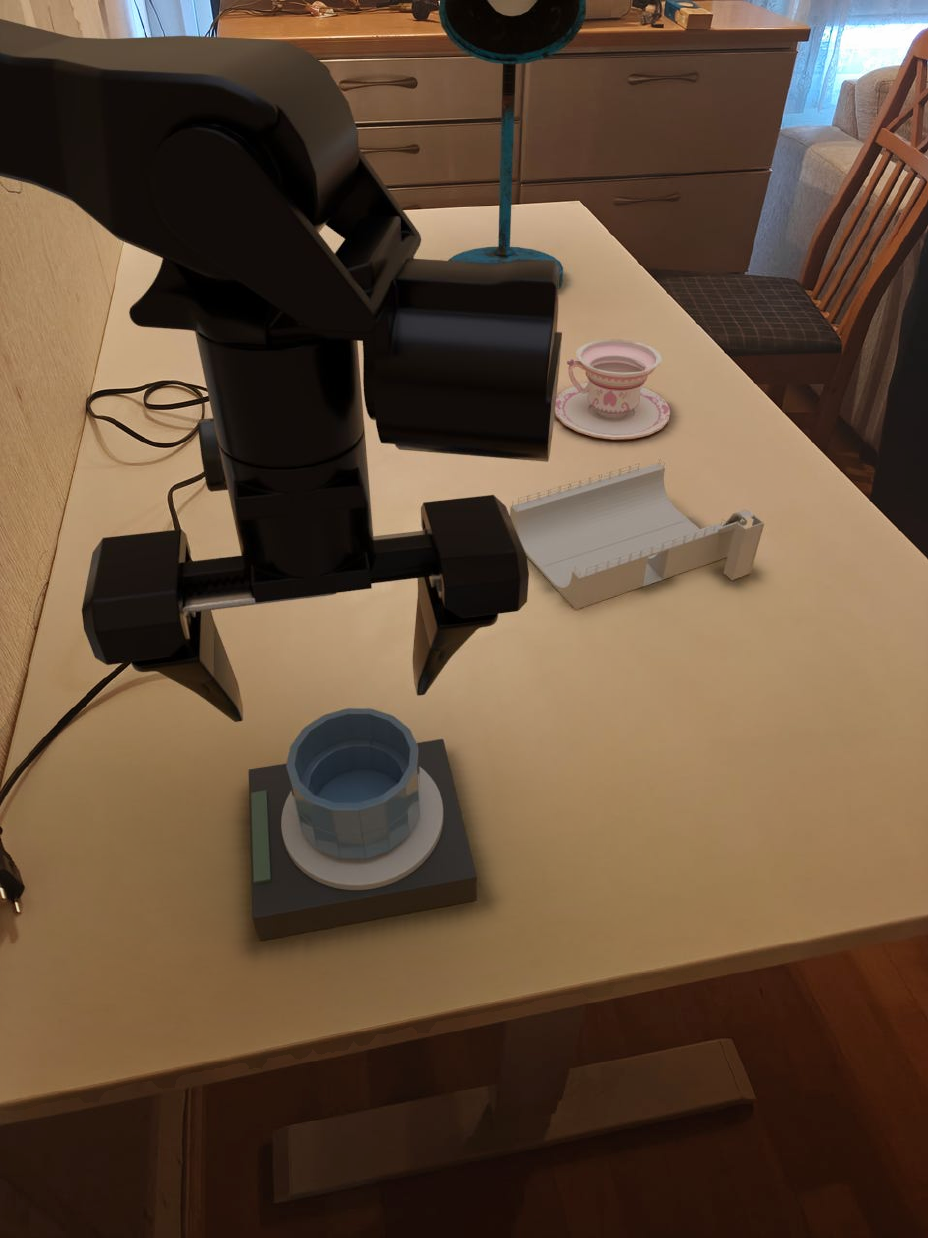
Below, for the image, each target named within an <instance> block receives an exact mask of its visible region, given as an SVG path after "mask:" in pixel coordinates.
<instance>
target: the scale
mask: <svg viewBox="0 0 928 1238" xmlns="http://www.w3.org/2000/svg"><path fill="white" fill-rule="evenodd" d="M416 743H417V746H418V751H419V770H420V788H421V805H420V816H419V818H418V820H417V822H416V824H415V826H414V827H413V829H412V831H411V833H410V834H409V835H408V837H406V838H405V839H404V840H403V841H401V842H400V843H399V844H398V845H396V846H395V847H394V848H393V849H391V850H389V851H388V852H385V853H382V854H379V855H376V856H373V857H370V858H367V859H366V858H364V859H358V858H337V857H335V856H332V855H330V854H327V853H325V852H322V851H320V850H318V849H317V848H316V847H315V846H314V845H313V844H312V843H311V842H310V841H309V840H308V839H307V838H306V837H305V836H304V835H303V833H302V831H301V827H300V824H299V821H298V818H297V814H296V809H295V805H294V800H293V795H292V791H291V786H290V782H289V777H288V772H287V768H286V764H287V763H281V764H275V765H269V766H262V767H255V768H250V769H248V797H249V799H248V801H249V804H248V805H249V837H250V838H249V839H250V841H249V842H250V873H251V875H250V876H251V880H250V881H251V909H252V910H251V911H252V912H251V913H252V921H253V924H254V927H255V930H256V934H257V937H258V940H259V941H266V940H272V939H278V938H283V937H288V936H293V935H298V934H303V933H310V932H315V931H320V930H326V929H330V928H335V927H341V926H346V925H351V924H357V923H364V922H367V921H373V920H378V919H379V920H380V919H384V918H390V917H394V916H399V915H405V914H411V913H416V912H421V911H426V910H431V909H436V908H442V907H448V906H453V905H458V904H464V903H470V902H473V901H474V902H475V901H477V897H478V896H477V895H478V894H477V893H478V875H477V871H476V868H475V867H476V866H475V863H474V859H473V854H472V850H471V847H470V842H469V838H468V835H467V831H466V826H465V822H464V819H463V813H462V810H461V806H460V802H459V798H458V792H457V790H456V785H455V781H454V777H453V773H452V769H451V765H450V761H449V757H448V753H447V749H446V745H445V740H444V739H443V738H439V739H432V740H427V741H419V742H416Z"/></svg>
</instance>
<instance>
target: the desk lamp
mask: <svg viewBox="0 0 928 1238" xmlns="http://www.w3.org/2000/svg"><path fill="white" fill-rule="evenodd" d="M586 2H587V1H586V0H439V6H438V16H439V21H440V24H441V28H442V30H443V31H444V32H445V35H446V36H447V37H448V39H449V40H450V41H451V43H453V45H456V47H458V49H460V50H461V51H462V52H464V53H466V54H468V55H470V56H471V57H474V58H475V59H477V60H478V59H479V60H482V61H485V62H489V63H492V64H502V83H501V84H502V85H501V117H500V118H501V120H500V121H501V122H500V158H499V159H500V160H499V161H500V164H499V167H500V168H499V199H498V200H499V201H498V202H499V203H498V204H499V205H498V207H499V208H498V242H497V244H498V246H484V247H478V248H473V249H469V250H465V251H462V252H459V253H457V254H455V255H453V256H451V258H449V259H448V260H447V261H461V262H478V263H504V262H509V261H514V260H521V259H531V260H549V261H555V262H556V263H557V264H558V266H559V267H560V273H559V286H558V290H559V289H560V288H562V285H563V281H564V280H563V279H564V266H563V264H562V262H561V261H560V260H559V259H557V258H556V257H555V256H553V255H550V254H548V253H546V252H544V251H539V250H536V249H533V248H526V247H520V246H511V228H512V223H511V222H512V197H513V168H514V167H513V165H514V164H513V162H514V135H515V134H514V133H515V108H516V107H515V105H516V104H515V103H516V74H517V73H516V72H517V71H516V69H517V65H519V64H529V63H532V62H536V61H540V60H543V59H546V58H549V57H550V56H552V55H554V54H557V53H559V52H560V51H561V50H562V49H564V48H566V47H567V46H568V45H569V44H570V43H571V42H572V41H573V40H574V39H575V37H576V36H577V35H578V33H579V32H580V30H581V29H582V26H583V24H584V21H585V18H586V15H587V3H586Z"/></svg>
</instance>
